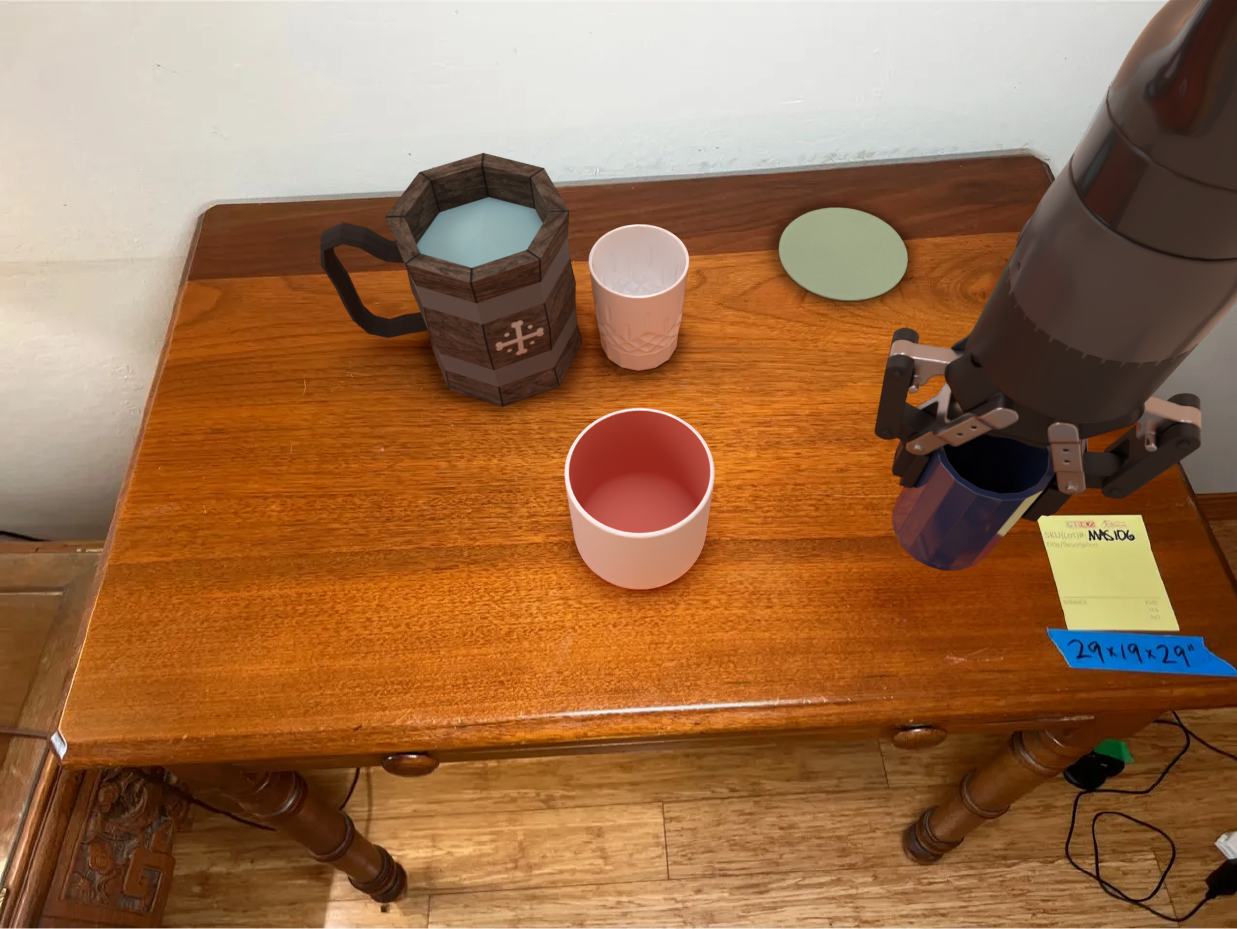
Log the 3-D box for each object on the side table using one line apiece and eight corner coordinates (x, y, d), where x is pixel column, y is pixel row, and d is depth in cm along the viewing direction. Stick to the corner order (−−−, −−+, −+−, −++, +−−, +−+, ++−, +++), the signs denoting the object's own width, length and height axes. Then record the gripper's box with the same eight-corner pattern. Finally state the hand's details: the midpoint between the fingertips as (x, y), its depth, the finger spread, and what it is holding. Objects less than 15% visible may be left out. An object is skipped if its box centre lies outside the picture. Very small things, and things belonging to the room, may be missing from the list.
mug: (582, 285, 76) (570, 149, 63) (582, 404, 69) (568, 279, 56) (373, 291, 76) (318, 158, 63) (351, 411, 69) (285, 288, 56)
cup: (729, 517, 63) (742, 450, 54) (659, 620, 59) (662, 565, 50) (622, 457, 66) (619, 384, 58) (549, 551, 62) (533, 487, 53)
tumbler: (997, 498, 51) (1060, 417, 43) (986, 583, 48) (1052, 514, 40) (900, 472, 52) (944, 389, 44) (883, 554, 49) (927, 481, 41)
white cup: (597, 306, 74) (591, 223, 66) (683, 308, 74) (688, 224, 65) (592, 376, 70) (585, 296, 62) (683, 377, 70) (689, 298, 61)
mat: (916, 223, 79) (916, 222, 79) (895, 314, 73) (896, 312, 73) (794, 198, 81) (794, 196, 81) (765, 284, 75) (765, 282, 75)
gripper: (908, 308, 31) (826, 511, 45) (1329, 403, 28) (1099, 587, 43) (936, 179, 34) (852, 405, 49) (1313, 252, 32) (1105, 469, 46)
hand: (967, 489), depth 46 cm, fingers closed on tumbler, 6 cm apart
